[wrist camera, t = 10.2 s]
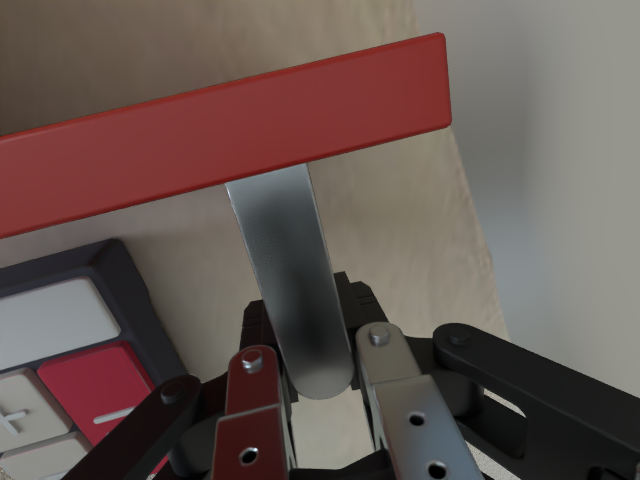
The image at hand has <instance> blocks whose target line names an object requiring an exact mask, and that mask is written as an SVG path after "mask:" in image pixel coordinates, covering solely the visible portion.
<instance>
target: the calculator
mask: <svg viewBox="0 0 640 480" xmlns="http://www.w3.org/2000/svg"><path fill="white" fill-rule="evenodd" d="M180 375H187V373H186V371H185V369H184V367H183V365H182V364H181V362H180V360H179V358H178V356H177V354H176V353H175V351H174V349H173V347H172V345H171V343H170V341H169V340H168V338H167V336H166V334H165V332H164V330H163V328H162V327H161V325H160V323H159V321H158V319H157V317H156V316H155V314H154V312H153V310H152V308H151V305H150V300H149V295H148V291H147V288H146V286H145V284H144V282H143V281H142V279H141V277H140V275H139V273H138V271H137V269H136V267H135V265H134V264H133V262H132V260H131V258H130V256H129V254H128V252H127V250H126V249H125V247H124V245H123V243H122V242H121V241H120V240H118V239H115V238H112V239H108V240H104V241H100V242H97V243H93V244H89V245H86V246H82V247H78V248H75V249H71V250H68V251H64V252H60V253H57V254H53V255H49V256H46V257H42V258H38V259H35V260H31V261H28V262H24V263H20V264H17V265H13V266H9V267H6V268H2V269H0V466H1V467H2V468H3V469H4V470H5V471H6V472H7V473H8V474H9V475H10V476H11V477H12V478H13V479H14V480H60V479H61V478H62V477H63V476H64V475H65V474H66V473H68V472H69V471H70V470H71V469H72V468H73V467H74V466H75V465H76V464H77V463H78V462H79V461H80V460H81V459H82V458H83V457H84V456H85V455H86V454H87V453H88V452H89V451H91V450H92V449H93V448H94V447H95V446H96V445H97V444H98V443H99V442H100V441H101V440H102V439H103V438H104V437H105V436H106V435H107V434H108V433H109V432H110V431H111V430H112V429H113V428H115V427H116V426H117V425H118V424H119V423H120V422H121V421H122V420H123V419H124V418H125V417H126V416H127V415H128V414H129V413H130V412H131V411H132V410H133V409H134V408H135V407H136V406H137V405H139V404H140V403H141V402H142V401H143V400H144V399H145V398H146V397H147V396H148V395H149V394H150V393H151V392H152V391H153V390H154V389H155V388H156V387H158V386H159V385H160V384H162V383H163V382H165V381H167V380H169V379H171V378H173V377H176V376H180ZM167 461H168V457H167V455H166V456H165V457H164V458H163V459H162V461H161V462H160V463H159V464H158V465H157V467H156V468H155V469H154V470H153V471H152V473H151V474H155V473H158V472H159V470H160V469H161V468H162V467H163V466H164V464H165V463H166V462H167ZM151 474H150V475H151Z"/></svg>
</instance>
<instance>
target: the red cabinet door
mask: <svg viewBox="0 0 640 480" xmlns="http://www.w3.org/2000/svg"><path fill="white" fill-rule="evenodd" d="M451 122H452V115H451V102H450V91H449V77H448V65H447V52H446V40H445V36H444V34H443V33H439V32H437V33H432V34H428V35H424V36H419V37H415V38H411V39H407V40H403V41H398V42H394V43H390V44H386V45H382V46H377V47H373V48H369V49H365V50H361V51H356V52H352V53H348V54H344V55H340V56H335V57H331V58H327V59H323V60H319V61H314V62H310V63H306V64H302V65H298V66H293V67H289V68H285V69H281V70H277V71H272V72H268V73H264V74H260V75H256V76H251V77H247V78H243V79H239V80H235V81H230V82H226V83H222V84H218V85H214V86H209V87H205V88H201V89H197V90H193V91H189V92H184V93H180V94H176V95H172V96H168V97H163V98H159V99H155V100H151V101H147V102H142V103H138V104H134V105H130V106H126V107H121V108H117V109H113V110H109V111H105V112H100V113H96V114H92V115H88V116H84V117H79V118H75V119H71V120H67V121H63V122H58V123H54V124H50V125H46V126H42V127H37V128H33V129H29V130H25V131H21V132H16V133H12V134H8V135H4V136H0V239H3V238H7V237H11V236H15V235H19V234H23V233H27V232H31V231H35V230H39V229H43V228H47V227H51V226H55V225H59V224H63V223H67V222H71V221H75V220H79V219H83V218H87V217H91V216H95V215H99V214H103V213H107V212H111V211H115V210H119V209H123V208H127V207H131V206H135V205H139V204H143V203H147V202H151V201H155V200H159V199H163V198H167V197H171V196H175V195H179V194H183V193H187V192H191V191H195V190H199V189H203V188H207V187H211V186H215V185H219V184H223V183H225V186H226V189H227V192H228V195H229V198H230V201H231V204H232V207H233V210H234V213H235V216H236V219H237V222H238V225H239V228H240V231H241V234H242V237H243V240H244V243H245V246H246V249H247V252H248V255H249V258H250V261H251V265H252V268H253V271H254V274H255V277H256V280H257V283H258V286H259V289H260V292H261V295H262V298H263V301H264V304H265V307H266V310H267V313H268V316H269V319H270V322H271V325H272V328H273V331H274V334H275V337H276V340H277V343H278V346H279V349H280V352H281V355H282V358H283V361H284V364H285V367H286V371H287V374H288V377H289V380H290V382H291V385H292V386H293V388H294V389H295V390H296V391H297V392H298V393H299V394H300V395H302V396H304V397H307V398H310V399H317V400H320V399H328V398H331V397H334V396H336V395H338V394H340V393H341V392H343V391H344V390H345V389H346V388H347V387H348V386H349V385H350V383H351V382H352V380H353V377H354V374H355V364H354V360H353V356H352V351H351V347H350V343H349V339H348V334H347V330H346V326H345V322H344V317H343V313H342V309H341V305H340V300H339V296H338V292H337V288H336V284H335V279H334V275H333V271H332V267H331V262H330V258H329V254H328V250H327V245H326V241H325V237H324V233H323V229H322V224H321V220H320V216H319V212H318V207H317V203H316V199H315V195H314V190H313V186H312V182H311V178H310V174H309V169H308V165H307V163H308V162H312V161H316V160H320V159H324V158H328V157H332V156H336V155H340V154H344V153H348V152H352V151H356V150H360V149H364V148H368V147H372V146H376V145H380V144H384V143H388V142H392V141H396V140H400V139H404V138H408V137H412V136H416V135H420V134H424V133H428V132H432V131H436V130H440V129H444V128H447V127H448V126H450V125H451Z"/></svg>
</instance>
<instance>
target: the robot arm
mask: <svg viewBox="0 0 640 480" xmlns="http://www.w3.org/2000/svg"><path fill="white" fill-rule="evenodd" d="M333 275H334V279H335V284H336V288H337V292H338V296H339V300H340V305H341V309H342V313H343V317H344V322H345V326H346V330H347V334H348V339H349V343H350V347H351V351H352V356H353V360H354V364H355V374H354V377H353V380H352V382H351V383H350V385H351V388H352V390H357V389H360V390H361V394H362V397H363V406H364V412H365V416H366V421H367V425H368V429H369V434H370V438H371V442H372V447H373V451H374V453H372V454H370V455H368V456H366V457H364V458H362V459H360V460H358V461H356V462H354V463H352V464H350V465H348V466H346V467H344V468H342V469H337V470H332V469H304V468H298V461H297V454H296V447H295V440H294V433H293V426H292V421H291V415H292V409H291V403H294V402H299V400H298V392H297V391H296V390H295V389H294V388H293V386H292V385H291V382H290V380H289V377H288V374H287V371H286V367H285V364H284V361H283V358H282V355H281V352H280V349H279V346H278V343H277V340H276V337H275V334H274V331H273V328H272V325H271V322H270V319H269V316H268V313H267V310H266V307H265V304H264V301H263V299H262V300H256V301H251V302H250V303H249V305H248V306H247V307H246V309H245V310H244V317H243V324H242V332H241V340H240V348H239V352H238V353H236V354H235V355H234V356H233V357H232V359H231V360H230V362H229V366H228V371H227V372H226V373H224V374H223V375H221V376H219V377H217V378H215V379H213V380H210V381H208V382H206V383H204V384H201V382H200V380H199V379H198V378H197V377H195V376H192V375H180V376H176V377H173V378H171V379H169V380H167V381H165V382H163V383H162V384H160V385H159V386H158V387H156V388H155V389H154V390H153V391H152V392H151V393H150V394H149V395H148V396H147V397H146V398H145V399H144V400H143V401H142V402H141V403H140V404H139V405H137V406H136V407H135V408H134V409H133V410H132V411H131V412H130V413H129V414H128V415H127V416H126V417H125V418H124V419H123V420H122V421H121V422H120V423H119V424H118V425H117V426H116V427H115V428H113V429H112V430H111V431H110V432H109V433H108V434H107V435H106V436H105V437H104V438H103V439H102V440H101V441H100V442H99V443H98V444H97V445H96V446H95V447H94V448H93V449H92V450H91V451H89V452H88V453H87V454H86V455H85V456H84V457H83V458H82V459H81V460H80V461H79V462H78V463H77V464H76V465H75V466H74V467H73V468H72V469H71V470H70V471H69V472H68V473H66V474H65V475H64V476H63V477H62V478H61V479H60V480H146V479H147V477H148V476H149V475H150V474H151V473H152V471H153V470H154V469H155V468H156V467H157V465H158V464H159V463H160V462H161V461H162V459H163V458H164V457H165V456H166V455H167V457H168V461H167V462H166V463H165V464H164V466H163V467H162V468H161V469H160V470H159V472H158V473H157V474H156V475H155V477H154V478H153V479H152V480H494V479H493V478H491V477H490V476H488V475H487V474H485V473H483V472H482V471H480V469H479V467H478V465H477V463H476V461H475V459H474V457H473V455H472V453H471V451H470V450H469V448H468V446H467V444H466V442H465V440H466V441H467V442H469V443H470V444H471V445H473V446H474V447H476V448H477V449H479V450H480V451H481V452H483V453H484V454H486V455H487V456H488V457H490V458H491V459H493V460H494V461H496V462H497V463H498V464H500V465H501V466H503V467H504V468H506V469H507V470H508V471H510V472H511V473H513V474H514V475H516V476H517V477H518V478H520V479H521V480H640V398H638V397H635V396H633V395H631V394H628V393H626V392H624V391H621V390H619V389H616V388H615V387H612V386H610V385H608V384H605V383H603V382H601V381H598V380H596V379H594V378H591V377H589V376H587V375H584V374H582V373H580V372H577V371H575V370H573V369H570V368H568V367H566V366H563V365H561V364H559V363H556V362H554V361H551V360H549V359H547V358H545V357H542V356H540V355H538V354H535V353H533V352H531V351H528V350H526V349H524V348H521V347H519V346H517V345H515V344H512V343H510V342H508V341H505V340H503V339H501V338H498V337H496V336H494V335H491V334H489V333H487V332H484V331H482V330H480V329H477V328H475V327H473V326H470V325H467V324H462V323H448V324H444V325H441V326H439V327H438V328H436V329H435V331H434V332H433V338H414V337H409V336H405V335H403V333H402V331H401V329H400V328H399V327H397V326H396V325H394V324H391V323H389V321H388V319H387V317H386V316H385V314H384V312H383V310H382V308H381V306H380V305H379V303H378V301H377V299H376V297H375V296H374V294H373V292H372V290H371V288H370V287H369V286H368V285H366V284H364V283H363V282H361V281H359V282H354V283H350V282H349V279H348V277H347V275H346V273H345V271H343V272H338V273H333ZM484 388H485V389H487V390H489V391H491V392H493V393H494V394H496V395H498V396H500V397H502V398H503V399H505V400H507V401H509V402H511V403H512V404H514V405H516V406H517V407H518V408H519V409H520V410H521V411H522V412H523V413H524V414H525V416H526V418H525V417H523V416H522V415H520V414H518V413H516V412H515V411H513V410H511V409H509V408H508V407H506V406H504V405H502V404H501V403H499V402H497V401H495V400H494V399H492V398H490V397H488V396H487V395H485V394H484Z"/></svg>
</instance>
